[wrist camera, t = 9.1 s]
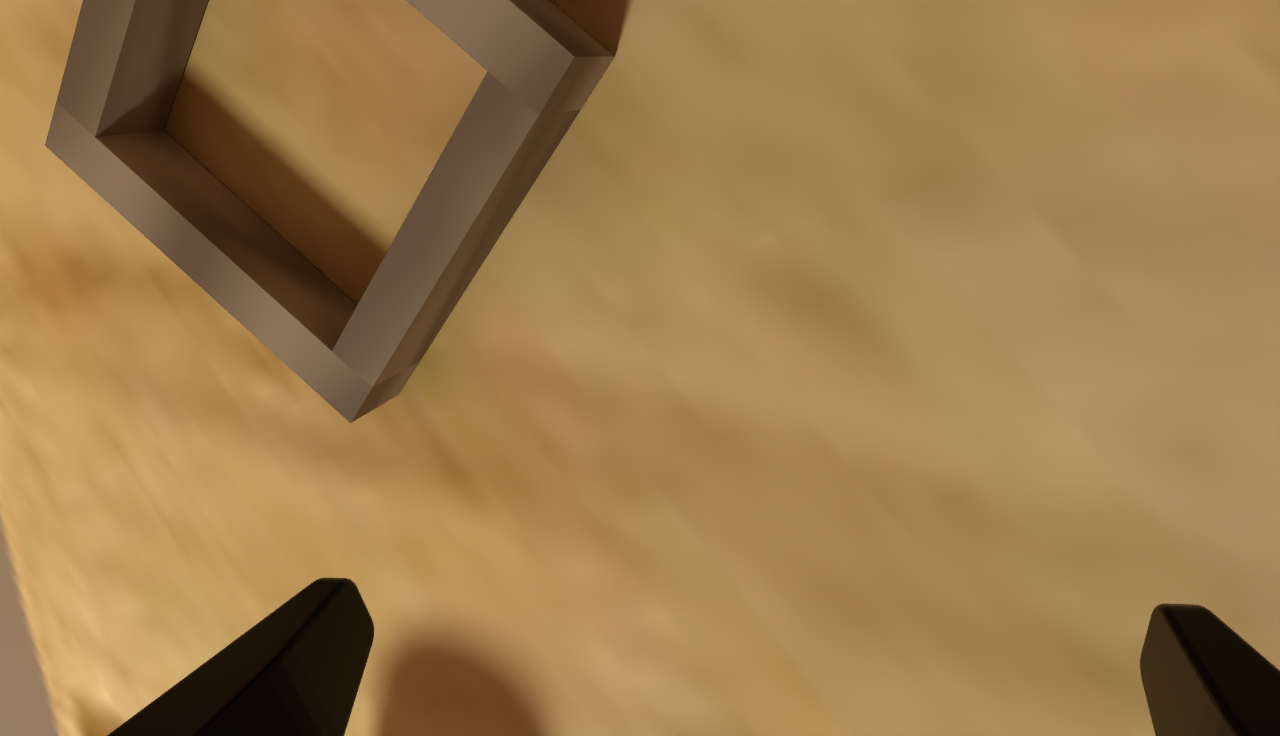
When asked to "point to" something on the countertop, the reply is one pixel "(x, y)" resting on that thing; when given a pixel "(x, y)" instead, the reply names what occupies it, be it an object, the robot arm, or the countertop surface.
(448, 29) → the brown flat square frame
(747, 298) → the countertop surface
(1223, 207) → the countertop surface
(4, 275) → the countertop surface
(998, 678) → the countertop surface
